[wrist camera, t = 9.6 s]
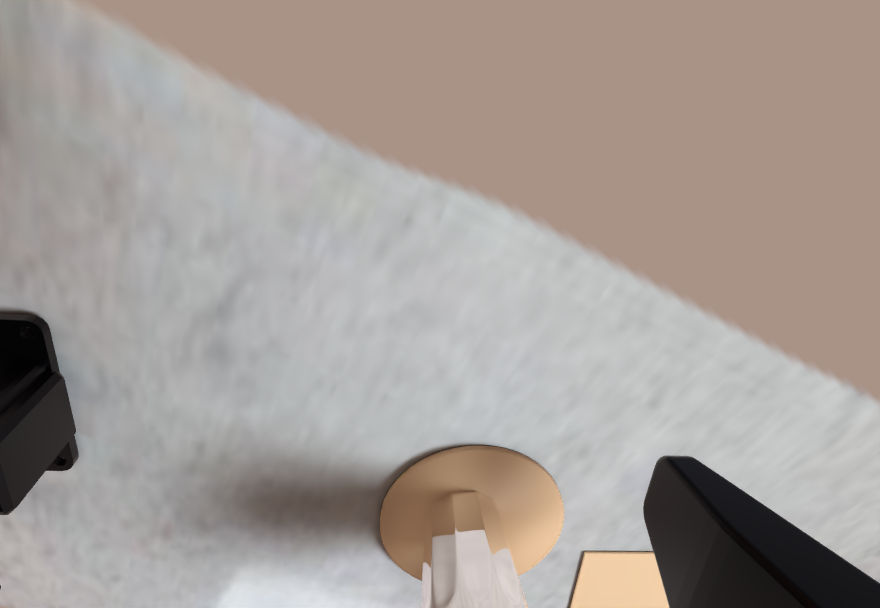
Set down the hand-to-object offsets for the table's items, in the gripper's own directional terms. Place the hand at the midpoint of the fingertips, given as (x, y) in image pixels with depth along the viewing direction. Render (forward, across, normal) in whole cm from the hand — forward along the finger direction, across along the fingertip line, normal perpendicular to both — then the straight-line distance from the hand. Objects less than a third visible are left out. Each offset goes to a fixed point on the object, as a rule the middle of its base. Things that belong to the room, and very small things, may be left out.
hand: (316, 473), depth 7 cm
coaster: (+13, -5, +14) cm, 20 cm away
